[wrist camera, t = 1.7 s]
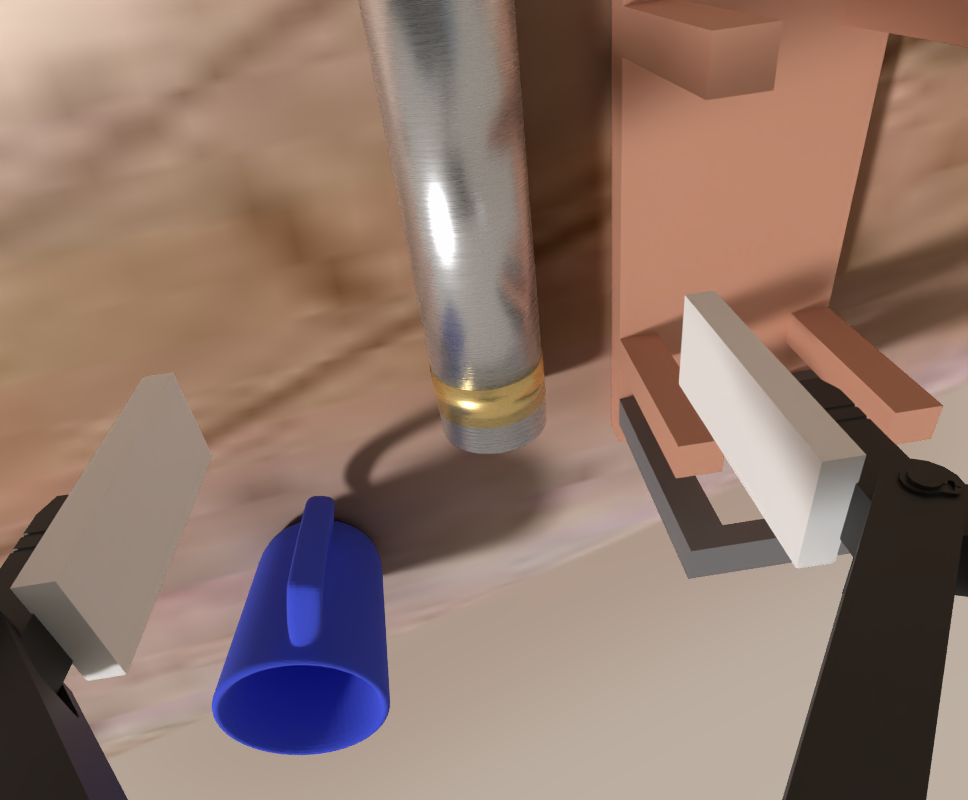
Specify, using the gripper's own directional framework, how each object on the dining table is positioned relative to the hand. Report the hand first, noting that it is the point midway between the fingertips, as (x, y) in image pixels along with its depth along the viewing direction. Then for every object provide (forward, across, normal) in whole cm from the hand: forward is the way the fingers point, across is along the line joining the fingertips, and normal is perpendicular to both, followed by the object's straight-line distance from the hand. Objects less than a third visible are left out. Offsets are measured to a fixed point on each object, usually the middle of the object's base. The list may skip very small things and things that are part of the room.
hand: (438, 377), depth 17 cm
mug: (+14, -9, -18) cm, 24 cm away
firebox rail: (+13, +13, 0) cm, 18 cm away
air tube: (+12, 0, 0) cm, 13 cm away
